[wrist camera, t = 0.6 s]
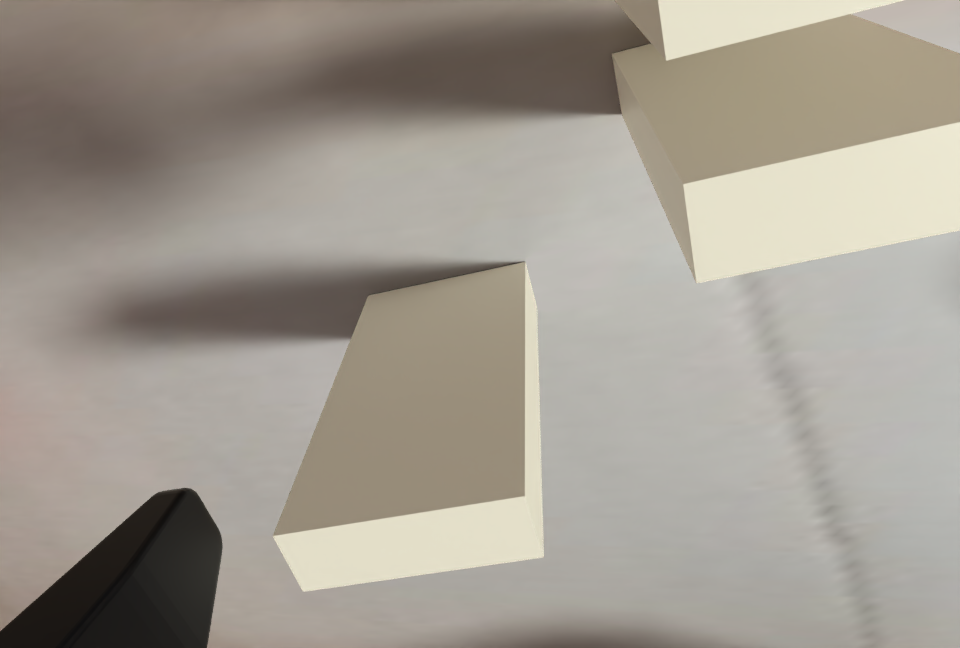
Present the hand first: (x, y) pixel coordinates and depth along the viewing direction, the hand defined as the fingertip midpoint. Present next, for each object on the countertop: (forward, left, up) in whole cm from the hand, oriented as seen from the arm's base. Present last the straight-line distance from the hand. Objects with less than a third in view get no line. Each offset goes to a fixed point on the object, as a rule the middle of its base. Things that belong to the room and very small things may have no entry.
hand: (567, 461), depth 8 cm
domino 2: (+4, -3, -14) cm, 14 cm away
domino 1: (-6, 0, -14) cm, 15 cm away
